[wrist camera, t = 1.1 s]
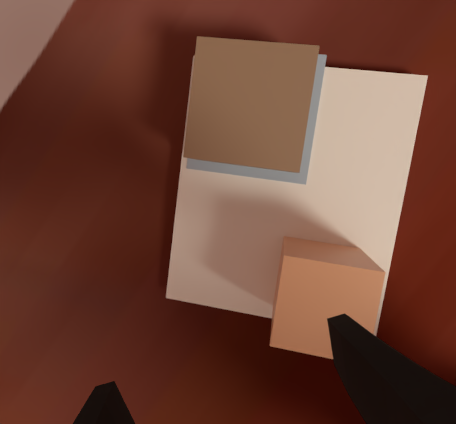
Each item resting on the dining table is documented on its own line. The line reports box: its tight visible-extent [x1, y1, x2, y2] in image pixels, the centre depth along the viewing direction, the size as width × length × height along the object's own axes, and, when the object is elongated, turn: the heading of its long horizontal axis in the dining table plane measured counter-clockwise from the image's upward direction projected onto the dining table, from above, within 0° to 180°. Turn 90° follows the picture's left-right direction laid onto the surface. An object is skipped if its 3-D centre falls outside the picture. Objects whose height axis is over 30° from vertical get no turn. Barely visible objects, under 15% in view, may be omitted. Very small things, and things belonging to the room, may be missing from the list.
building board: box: [166, 36, 428, 336], centre depth 19 cm, size 13×16×4 cm
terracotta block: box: [270, 236, 386, 359], centre depth 18 cm, size 4×4×5 cm
